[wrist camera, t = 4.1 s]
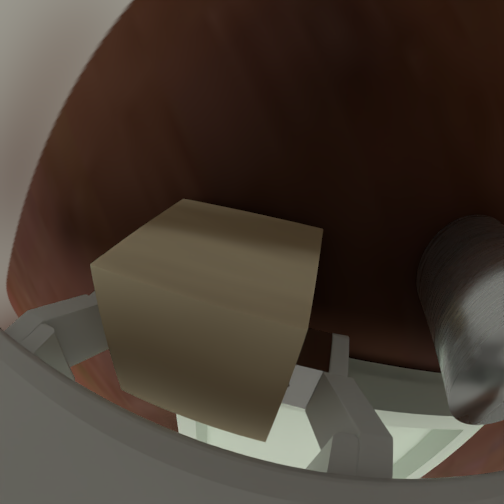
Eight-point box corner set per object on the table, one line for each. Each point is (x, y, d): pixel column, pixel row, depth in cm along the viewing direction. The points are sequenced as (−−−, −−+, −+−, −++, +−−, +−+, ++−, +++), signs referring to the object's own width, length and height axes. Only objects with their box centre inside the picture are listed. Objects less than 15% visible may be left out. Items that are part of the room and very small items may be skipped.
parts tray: (195, 318, 13) (169, 357, 11) (480, 377, 10) (492, 416, 8) (198, 457, 20) (187, 481, 18) (359, 491, 18) (356, 515, 16)
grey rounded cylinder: (441, 198, 8) (516, 277, 4) (530, 233, 7) (604, 309, 3) (398, 310, 10) (417, 423, 6) (484, 328, 9) (521, 422, 5)
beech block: (183, 198, 10) (89, 263, 6) (323, 228, 9) (307, 329, 5) (182, 307, 12) (121, 389, 8) (293, 338, 11) (265, 442, 7)
